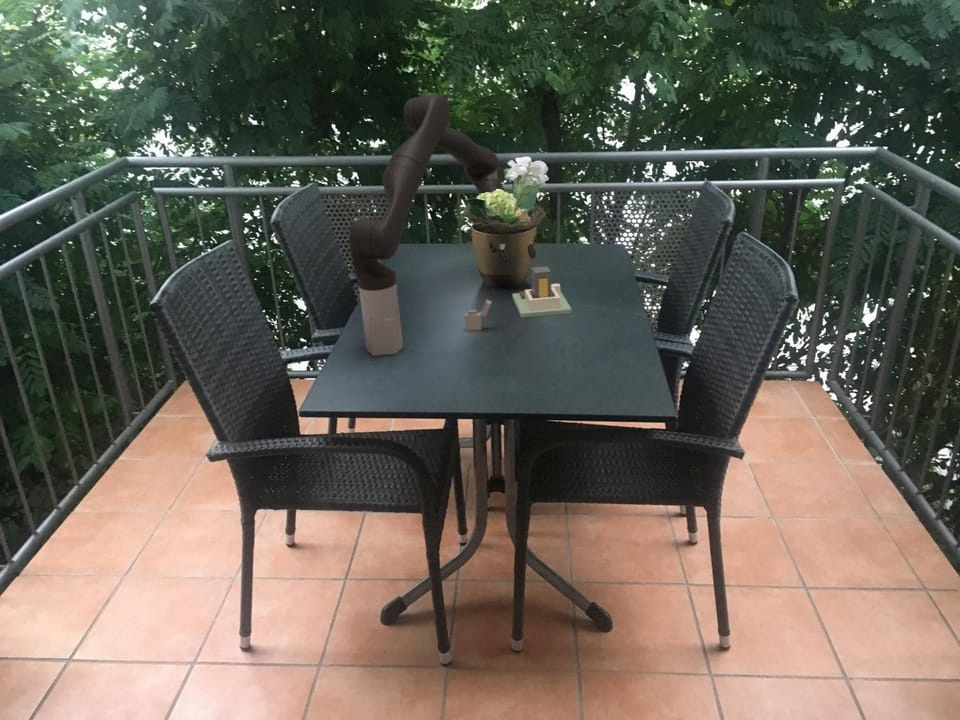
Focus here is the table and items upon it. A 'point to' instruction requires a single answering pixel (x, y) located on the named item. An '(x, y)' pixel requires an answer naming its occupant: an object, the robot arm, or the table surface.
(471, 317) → the lighter
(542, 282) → the grey yellow block
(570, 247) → the table surface
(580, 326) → the table surface
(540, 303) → the board
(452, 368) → the table surface
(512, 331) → the table surface
